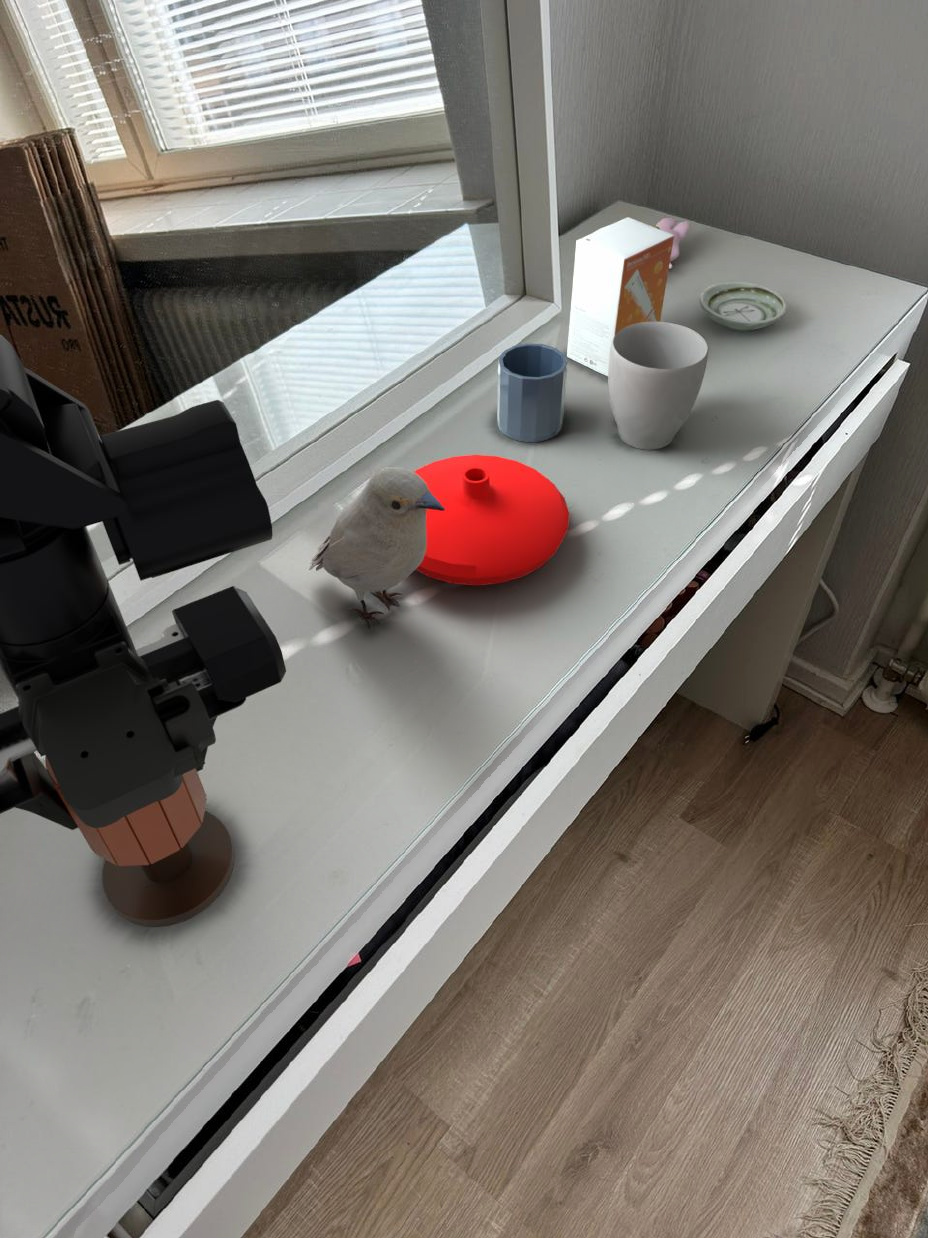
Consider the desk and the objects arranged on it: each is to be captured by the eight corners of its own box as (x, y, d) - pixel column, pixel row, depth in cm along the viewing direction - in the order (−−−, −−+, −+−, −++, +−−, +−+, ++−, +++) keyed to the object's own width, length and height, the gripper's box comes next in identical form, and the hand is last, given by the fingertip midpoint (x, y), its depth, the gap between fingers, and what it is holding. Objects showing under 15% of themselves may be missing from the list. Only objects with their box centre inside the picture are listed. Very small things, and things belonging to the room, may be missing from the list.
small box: (609, 379, 97) (624, 259, 88) (565, 357, 100) (574, 238, 91) (657, 351, 101) (676, 233, 91) (612, 330, 104) (626, 214, 95)
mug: (667, 471, 86) (683, 380, 79) (584, 441, 89) (593, 351, 82) (719, 411, 93) (739, 323, 86) (640, 385, 96) (653, 298, 89)
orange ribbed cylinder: (106, 887, 50) (64, 818, 45) (72, 797, 54) (30, 725, 49) (223, 829, 53) (196, 758, 48) (182, 747, 57) (153, 674, 52)
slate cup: (521, 450, 88) (524, 386, 83) (485, 417, 92) (485, 354, 87) (575, 429, 91) (581, 366, 86) (537, 398, 95) (540, 336, 90)
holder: (128, 951, 54) (98, 905, 50) (89, 849, 59) (59, 799, 55) (254, 885, 57) (236, 836, 53) (207, 792, 62) (188, 741, 58)
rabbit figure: (655, 304, 111) (702, 238, 118) (659, 260, 106) (708, 193, 113) (608, 292, 113) (657, 228, 120) (609, 248, 108) (661, 184, 115)
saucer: (739, 350, 101) (743, 330, 99) (679, 314, 106) (682, 295, 105) (800, 325, 104) (806, 305, 103) (739, 292, 110) (743, 273, 108)
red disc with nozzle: (474, 462, 87) (474, 398, 82) (604, 539, 79) (613, 473, 74) (347, 541, 79) (338, 475, 74) (476, 634, 72) (476, 568, 66)
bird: (430, 664, 70) (422, 510, 59) (296, 595, 75) (266, 442, 64) (466, 625, 72) (465, 471, 62) (335, 561, 78) (312, 409, 67)
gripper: (-166, 832, 33) (-1, 1003, 44) (310, 628, 39) (347, 822, 51) (-197, 638, 39) (-47, 830, 51) (215, 491, 46) (267, 690, 57)
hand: (136, 793), depth 52 cm, fingers closed on orange ribbed cylinder, 7 cm apart
